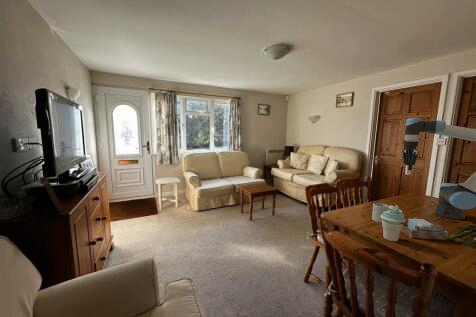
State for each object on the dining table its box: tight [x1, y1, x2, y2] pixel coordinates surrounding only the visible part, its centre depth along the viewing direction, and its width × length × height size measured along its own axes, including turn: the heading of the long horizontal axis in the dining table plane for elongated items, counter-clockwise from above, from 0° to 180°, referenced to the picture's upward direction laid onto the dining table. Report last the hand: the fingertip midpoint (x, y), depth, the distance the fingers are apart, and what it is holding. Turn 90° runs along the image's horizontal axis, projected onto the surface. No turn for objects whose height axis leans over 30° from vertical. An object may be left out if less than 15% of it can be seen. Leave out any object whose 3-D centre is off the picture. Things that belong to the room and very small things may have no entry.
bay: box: [400, 217, 449, 241], centre depth 121 cm, size 18×23×8 cm
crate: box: [407, 218, 434, 229], centre depth 117 cm, size 8×8×7 cm
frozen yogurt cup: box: [380, 204, 407, 242], centre depth 110 cm, size 10×11×20 cm
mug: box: [371, 202, 389, 224], centre depth 135 cm, size 12×8×11 cm
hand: (408, 174), depth 140 cm, fingers closed
